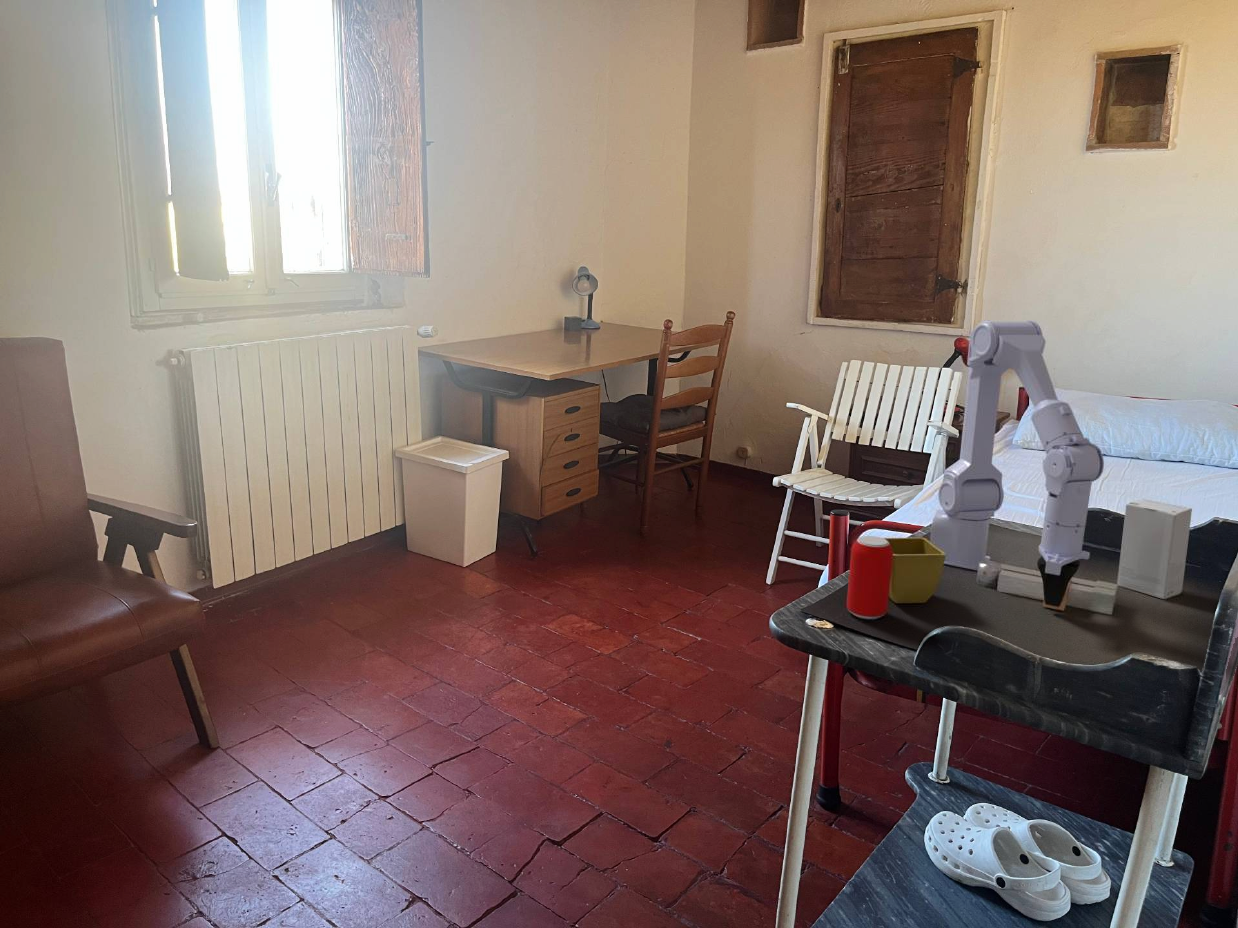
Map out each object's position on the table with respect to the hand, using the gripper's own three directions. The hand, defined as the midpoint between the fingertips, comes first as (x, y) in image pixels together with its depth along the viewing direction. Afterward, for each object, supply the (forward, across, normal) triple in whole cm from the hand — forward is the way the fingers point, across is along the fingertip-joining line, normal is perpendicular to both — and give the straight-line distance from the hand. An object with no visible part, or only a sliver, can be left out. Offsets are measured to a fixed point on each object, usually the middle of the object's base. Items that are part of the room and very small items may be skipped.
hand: (1052, 604), depth 143 cm
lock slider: (+1, +6, 0) cm, 6 cm away
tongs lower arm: (+1, +6, +1) cm, 6 cm away
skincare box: (+2, +20, -12) cm, 24 cm away
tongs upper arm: (+1, +8, +2) cm, 9 cm away
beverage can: (+2, -18, +24) cm, 30 cm away
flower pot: (+2, -8, +21) cm, 22 cm away
